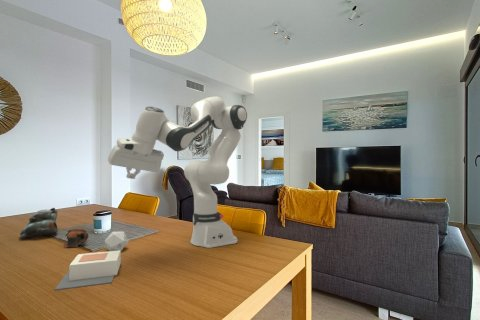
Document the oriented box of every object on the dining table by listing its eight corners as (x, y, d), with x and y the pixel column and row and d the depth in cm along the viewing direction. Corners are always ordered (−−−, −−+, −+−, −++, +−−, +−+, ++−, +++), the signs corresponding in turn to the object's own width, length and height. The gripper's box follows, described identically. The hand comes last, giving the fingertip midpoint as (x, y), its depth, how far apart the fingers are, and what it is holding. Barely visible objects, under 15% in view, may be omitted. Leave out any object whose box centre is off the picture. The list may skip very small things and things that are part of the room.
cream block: (120, 249, 98) (78, 253, 93) (116, 259, 88) (69, 264, 84) (120, 263, 98) (78, 268, 94) (116, 274, 88) (69, 280, 84)
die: (112, 256, 107) (128, 236, 110) (96, 245, 108) (112, 225, 111) (120, 256, 115) (135, 237, 117) (105, 246, 116) (120, 227, 119)
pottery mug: (56, 249, 115) (61, 230, 119) (74, 252, 123) (78, 234, 127) (79, 244, 112) (82, 225, 116) (96, 247, 120) (98, 229, 124)
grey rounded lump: (11, 240, 125) (16, 209, 131) (36, 242, 137) (40, 214, 144) (41, 231, 123) (45, 200, 130) (64, 235, 135) (67, 206, 142)
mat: (119, 259, 102) (119, 258, 102) (111, 282, 83) (111, 282, 83) (74, 264, 97) (74, 263, 97) (54, 290, 78) (54, 289, 78)
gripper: (162, 149, 112) (151, 178, 114) (113, 137, 98) (101, 171, 100) (168, 154, 108) (157, 184, 109) (117, 142, 93) (105, 177, 95)
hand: (130, 178), depth 104 cm, fingers closed
